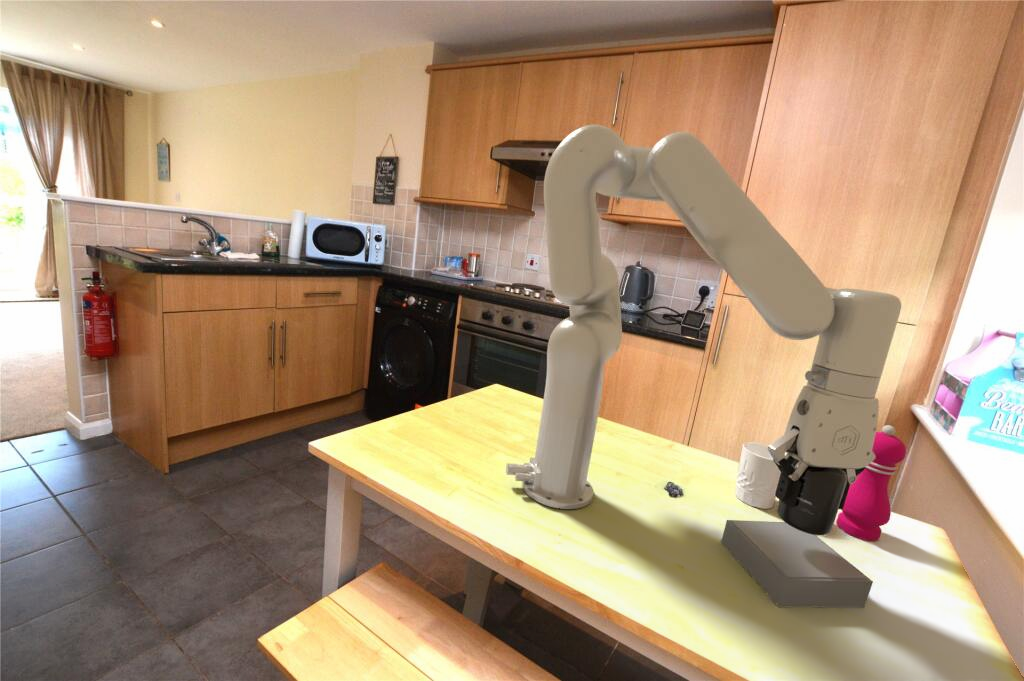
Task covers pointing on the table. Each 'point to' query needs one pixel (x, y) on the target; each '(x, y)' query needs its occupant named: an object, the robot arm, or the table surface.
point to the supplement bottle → (815, 500)
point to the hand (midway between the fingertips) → (808, 502)
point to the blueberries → (673, 490)
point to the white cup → (757, 476)
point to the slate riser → (795, 565)
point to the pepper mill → (872, 489)
